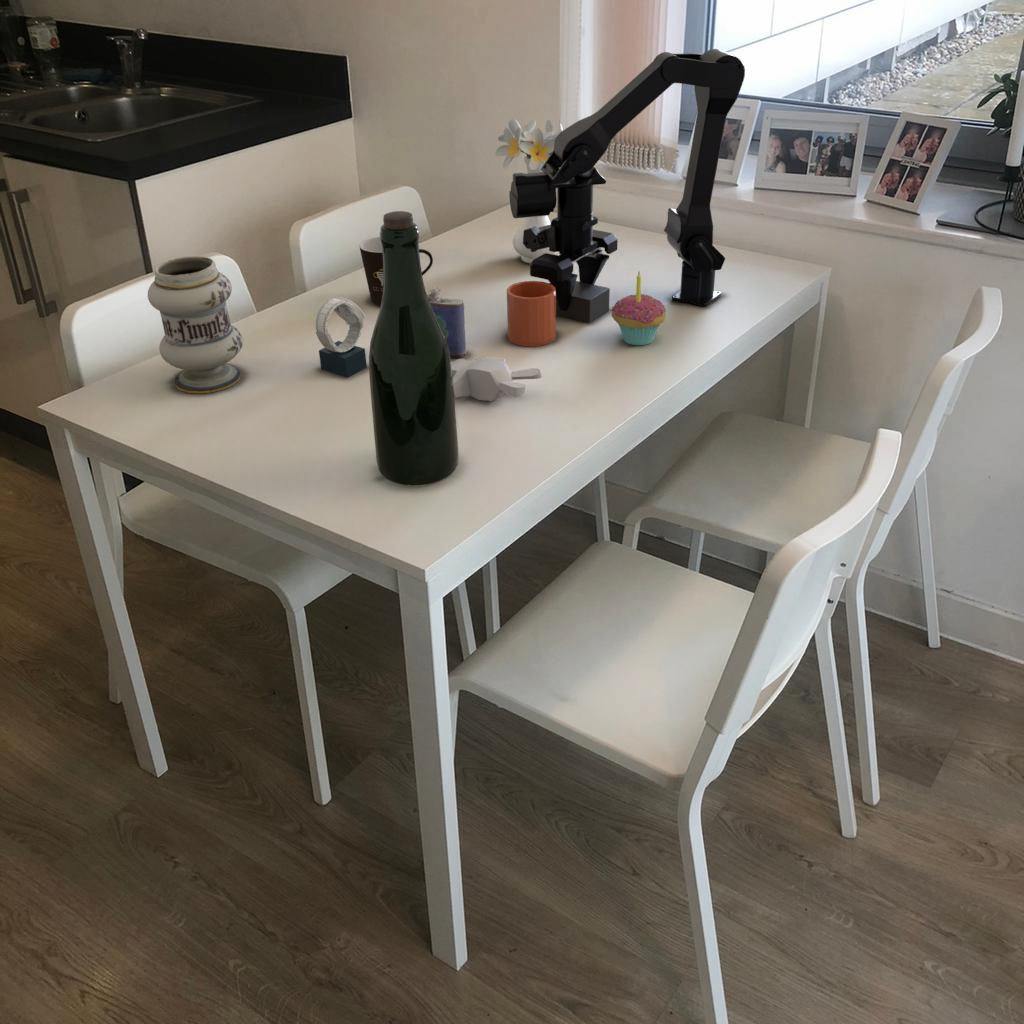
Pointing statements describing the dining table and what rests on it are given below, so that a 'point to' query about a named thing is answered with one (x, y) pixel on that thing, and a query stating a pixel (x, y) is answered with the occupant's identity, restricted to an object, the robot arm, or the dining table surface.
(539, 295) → the terracotta cup
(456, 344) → the flask
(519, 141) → the flower vase
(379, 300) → the coffee mug
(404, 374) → the green wine bottle
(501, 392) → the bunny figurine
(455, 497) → the dining table surface
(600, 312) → the black bar
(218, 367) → the apothecary jar
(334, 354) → the watch
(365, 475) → the dining table surface
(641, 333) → the cupcake
